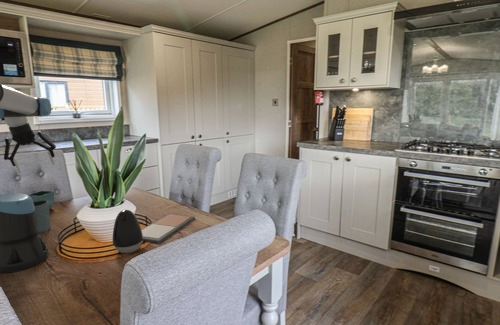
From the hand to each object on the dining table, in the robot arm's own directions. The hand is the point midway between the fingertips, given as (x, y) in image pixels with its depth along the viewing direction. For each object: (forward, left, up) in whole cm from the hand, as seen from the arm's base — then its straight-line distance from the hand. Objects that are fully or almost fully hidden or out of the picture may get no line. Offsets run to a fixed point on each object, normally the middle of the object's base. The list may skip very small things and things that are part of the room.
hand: (37, 167), depth 143 cm
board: (+6, -64, -24) cm, 69 cm away
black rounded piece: (-15, -64, -25) cm, 70 cm away
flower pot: (+7, +12, -25) cm, 28 cm away
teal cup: (-12, -12, -25) cm, 30 cm away
